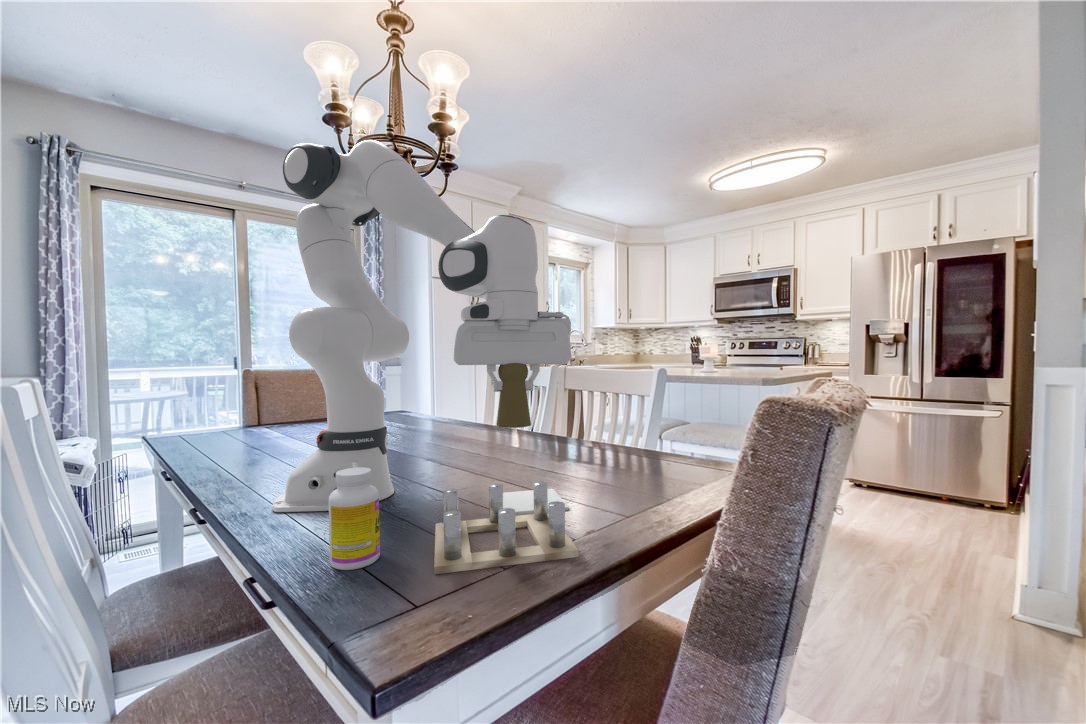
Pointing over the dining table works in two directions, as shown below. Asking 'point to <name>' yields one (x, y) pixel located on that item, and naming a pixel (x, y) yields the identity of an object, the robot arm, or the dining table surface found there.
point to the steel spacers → (503, 520)
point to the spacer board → (493, 558)
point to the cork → (513, 397)
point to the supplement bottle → (354, 520)
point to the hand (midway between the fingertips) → (513, 391)
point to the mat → (527, 501)
